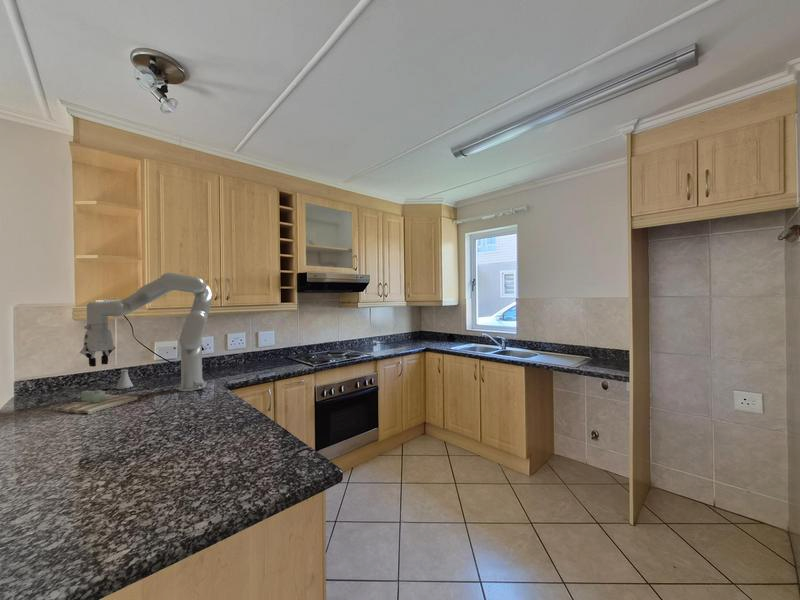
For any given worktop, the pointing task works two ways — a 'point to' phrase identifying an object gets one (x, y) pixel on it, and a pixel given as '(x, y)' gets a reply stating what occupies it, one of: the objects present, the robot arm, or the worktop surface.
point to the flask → (124, 380)
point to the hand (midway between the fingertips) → (98, 364)
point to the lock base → (96, 404)
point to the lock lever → (93, 396)
